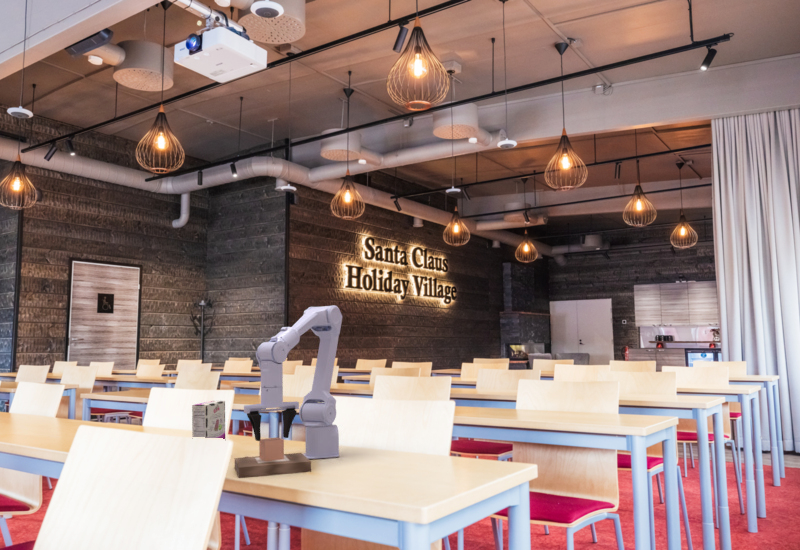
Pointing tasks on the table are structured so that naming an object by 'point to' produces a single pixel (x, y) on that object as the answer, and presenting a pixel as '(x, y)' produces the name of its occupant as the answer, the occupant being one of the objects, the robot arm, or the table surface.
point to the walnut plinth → (272, 465)
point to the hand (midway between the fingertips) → (272, 439)
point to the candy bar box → (209, 419)
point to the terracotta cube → (271, 449)
